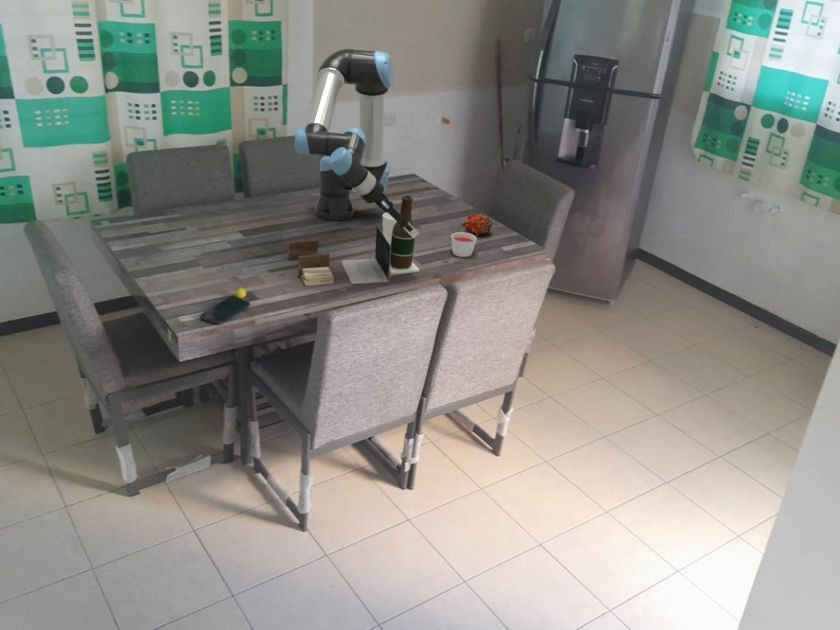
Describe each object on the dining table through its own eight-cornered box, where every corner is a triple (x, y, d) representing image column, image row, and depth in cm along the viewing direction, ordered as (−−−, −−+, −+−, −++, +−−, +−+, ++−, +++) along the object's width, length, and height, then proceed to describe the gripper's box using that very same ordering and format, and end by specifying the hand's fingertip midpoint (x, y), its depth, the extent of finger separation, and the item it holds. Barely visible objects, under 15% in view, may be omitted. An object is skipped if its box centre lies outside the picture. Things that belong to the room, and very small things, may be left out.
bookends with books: (288, 258, 269) (288, 239, 266) (316, 255, 272) (316, 236, 269) (304, 286, 251) (304, 266, 247) (335, 283, 254) (335, 263, 251)
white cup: (400, 246, 284) (401, 220, 280) (379, 243, 285) (380, 217, 281) (405, 238, 291) (406, 213, 286) (384, 235, 292) (385, 210, 288)
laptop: (340, 262, 269) (341, 226, 263) (376, 260, 273) (377, 225, 267) (351, 285, 254) (353, 248, 248) (389, 282, 258) (391, 246, 252)
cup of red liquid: (477, 258, 280) (479, 242, 277) (452, 258, 278) (454, 242, 275) (471, 248, 287) (473, 232, 284) (447, 248, 286) (449, 232, 283)
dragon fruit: (493, 238, 302) (462, 242, 301) (489, 219, 305) (458, 223, 304) (495, 226, 294) (464, 230, 293) (491, 207, 297) (460, 211, 296)
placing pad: (381, 262, 271) (381, 260, 271) (408, 259, 274) (408, 257, 274) (391, 274, 263) (391, 272, 262) (419, 271, 266) (419, 269, 266)
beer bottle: (400, 258, 273) (407, 191, 263) (416, 266, 268) (424, 198, 258) (384, 262, 268) (390, 195, 257) (399, 270, 263) (407, 202, 253)
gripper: (348, 183, 261) (388, 222, 273) (371, 209, 241) (414, 250, 253) (364, 166, 260) (404, 206, 273) (389, 191, 240) (431, 233, 253)
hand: (409, 227), depth 263 cm, fingers open, 13 cm apart
